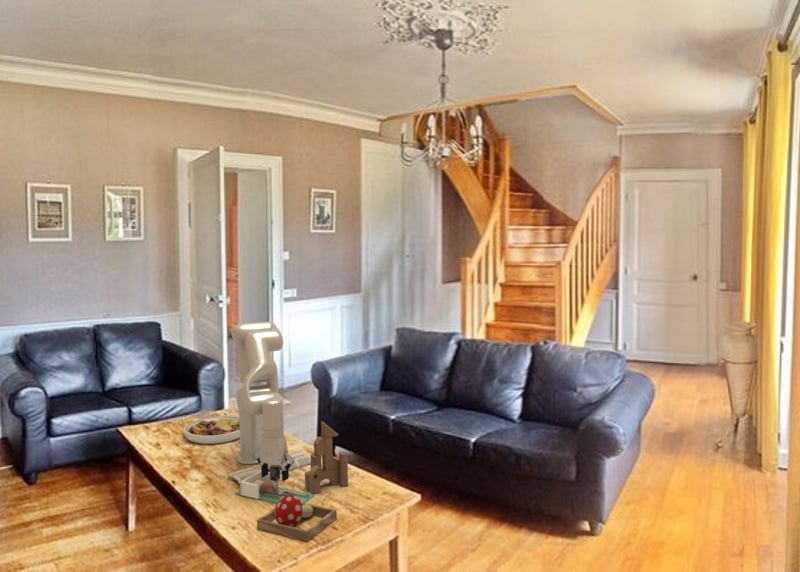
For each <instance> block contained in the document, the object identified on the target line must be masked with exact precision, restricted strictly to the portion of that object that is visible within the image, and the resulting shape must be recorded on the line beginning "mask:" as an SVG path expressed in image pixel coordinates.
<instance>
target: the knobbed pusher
mask: <svg viewBox="0 0 800 572" xmlns="http://www.w3.org/2000/svg"><path fill="white" fill-rule="evenodd" d="M281 479H282V476H281V474H280V465H279V466H278V465H271V466H270V480H268V481H267V482H265V483H263V484H262V485H260V487H261V492H265V493H269V494H274V495H278V496H283V495H284V494H286V491H285V490H280V489H279V487H280V481H279V480H281Z"/></svg>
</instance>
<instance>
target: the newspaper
mask: <svg viewBox="0 0 800 572" xmlns="http://www.w3.org/2000/svg"><path fill="white" fill-rule="evenodd" d="M288 454H289V455H290V456H291V457H292V458H294V462H293V464H292V466H291V467H290V468H289V472H291V471H294V470H298V469H301V468H303V467H308V466H311V454H308V453H306V452H305V451H304V450H303V448H301V449H299V450H295V451H294V452H291V453H288ZM287 462H289V461H287ZM271 465H272V464H268V472H270V466H271ZM284 466H285V464H284ZM260 470H261V466H260V464H258V465H254V466H250V467H246V468H243V469H239V470H236V471H233V472H229V473H228V476H227V480H228V481H235V480H236V481H237V482H238V483H237V485H239V486H240V482H241V481H242V480H244V479H246V478H248V477H250V476H251V475H253V474H255V473H257V472H259V471H260ZM282 471H283V469H282V467H281V466H280V475H282Z"/></svg>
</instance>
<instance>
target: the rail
mask: <svg viewBox="0 0 800 572" xmlns="http://www.w3.org/2000/svg"><path fill="white" fill-rule="evenodd" d="M280 490H283V489H280ZM285 491H286V494H293V495H295V496H300V497H304V498H311V495H307V494H302V493H297V492H293V491H288V490H285ZM261 495H262V496H267V497H271V498H276V499H281V498H282V497H283V496H278V495H274V494H269V493H265V492H262V493H261ZM311 499H312V498H311ZM300 502H302V503H303V501H301V500H300Z"/></svg>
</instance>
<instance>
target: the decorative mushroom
mask: <svg viewBox="0 0 800 572" xmlns="http://www.w3.org/2000/svg"><path fill="white" fill-rule="evenodd" d="M308 504H309V503H306V504H305V505H302V504H301V502H300V500H299V498H298V497H297V496H295V495H293V494H287V495H284V496H283V497H282V498H281V499H280V500H279V501H278V503H275V518H276V519H275V521H276V523H278V524H282V525H286V526H290V527H294V528H296V527H297V526H298V525H299V523H300V522H301V520H302V519H308V518H311V517H312V514H313V508H312V507H311V506H310V505H308Z"/></svg>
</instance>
